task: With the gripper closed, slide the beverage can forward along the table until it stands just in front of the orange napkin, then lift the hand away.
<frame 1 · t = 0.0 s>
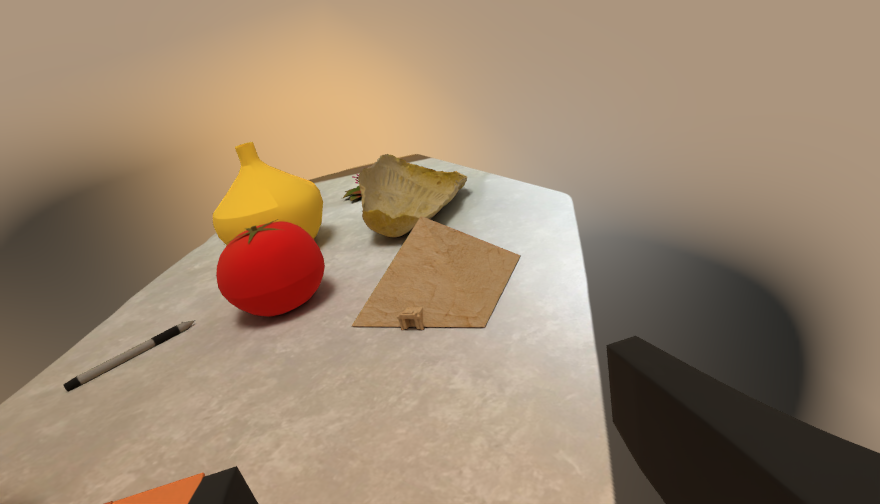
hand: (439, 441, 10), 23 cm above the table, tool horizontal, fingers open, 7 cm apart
tomato: (286, 304, 74), on the table
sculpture: (422, 216, 94), on the table
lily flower: (368, 193, 116), on the table
stone tile with tab: (439, 292, 66), on the table
vase: (284, 251, 94), on the table
pen: (136, 358, 70), on the table
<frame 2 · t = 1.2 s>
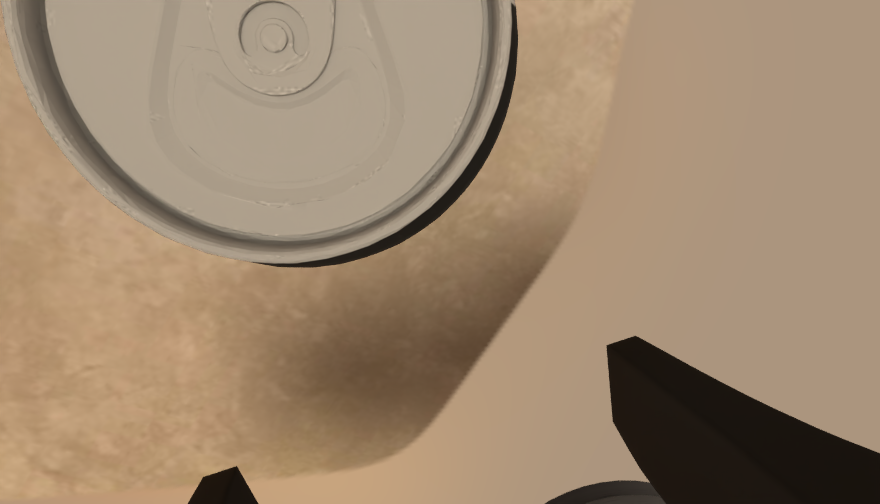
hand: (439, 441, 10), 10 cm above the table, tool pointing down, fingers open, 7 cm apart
beverage can: (348, 96, 18), on the table
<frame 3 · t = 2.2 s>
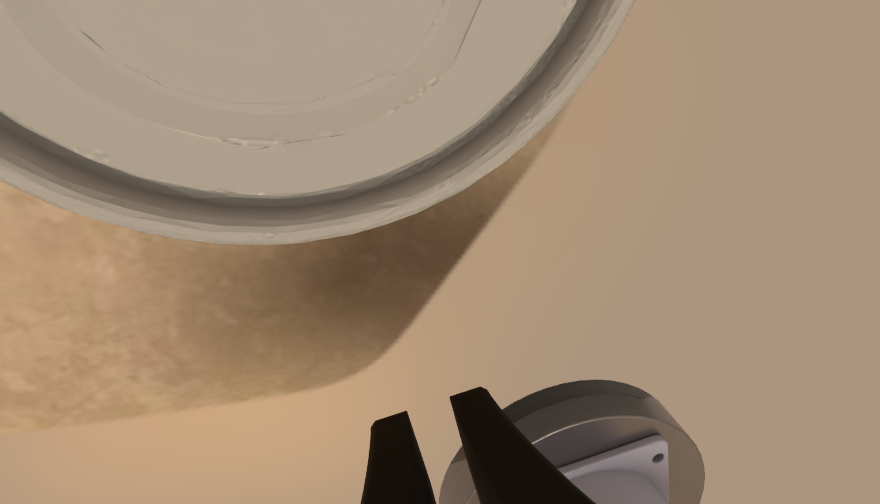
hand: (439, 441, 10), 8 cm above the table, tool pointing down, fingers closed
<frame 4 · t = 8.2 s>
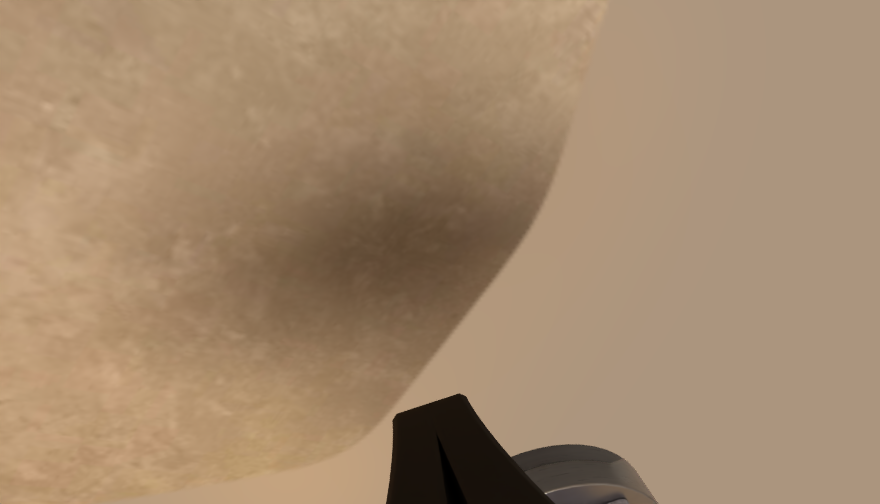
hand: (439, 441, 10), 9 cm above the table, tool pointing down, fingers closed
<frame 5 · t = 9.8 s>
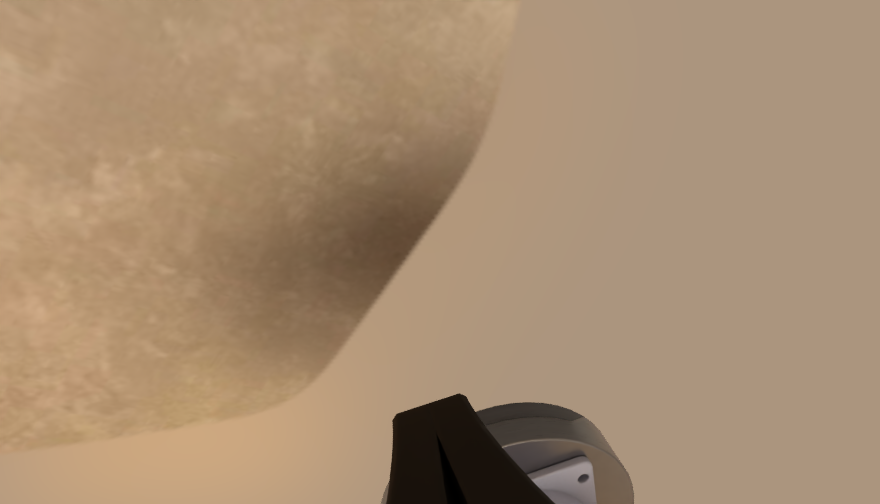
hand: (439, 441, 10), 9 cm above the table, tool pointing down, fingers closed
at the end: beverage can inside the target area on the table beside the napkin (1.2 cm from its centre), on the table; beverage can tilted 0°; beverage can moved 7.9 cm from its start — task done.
